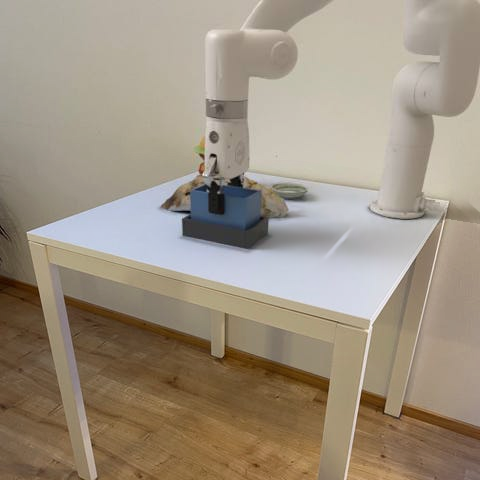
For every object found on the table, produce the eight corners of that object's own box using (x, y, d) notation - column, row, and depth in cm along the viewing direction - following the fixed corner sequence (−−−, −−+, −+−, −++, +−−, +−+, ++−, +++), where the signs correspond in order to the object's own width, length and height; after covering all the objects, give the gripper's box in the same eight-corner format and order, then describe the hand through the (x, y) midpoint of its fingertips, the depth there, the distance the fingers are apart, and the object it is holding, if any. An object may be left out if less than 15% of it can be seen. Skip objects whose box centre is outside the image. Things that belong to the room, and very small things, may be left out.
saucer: (306, 192, 127) (307, 183, 126) (308, 202, 119) (309, 193, 118) (270, 190, 128) (271, 181, 126) (269, 201, 119) (269, 191, 118)
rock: (172, 160, 117) (293, 162, 111) (177, 198, 123) (293, 201, 116) (147, 182, 105) (283, 185, 98) (154, 223, 110) (283, 228, 104)
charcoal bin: (267, 236, 98) (268, 217, 96) (247, 251, 91) (248, 231, 89) (206, 224, 103) (206, 205, 101) (182, 237, 96) (181, 218, 94)
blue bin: (259, 234, 97) (261, 190, 93) (244, 245, 92) (246, 199, 87) (208, 224, 102) (208, 182, 97) (191, 234, 96) (190, 190, 92)
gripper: (222, 117, 77) (221, 224, 86) (265, 107, 90) (261, 200, 99) (182, 114, 80) (186, 217, 89) (230, 104, 93) (229, 194, 102)
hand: (225, 207), depth 94 cm, fingers closed on blue bin, 7 cm apart
